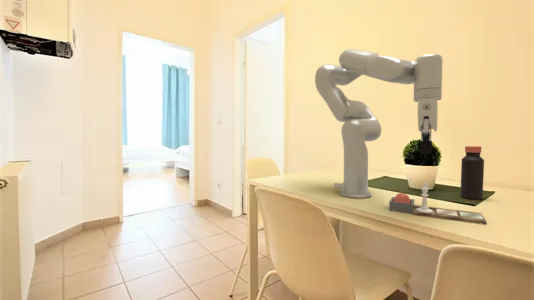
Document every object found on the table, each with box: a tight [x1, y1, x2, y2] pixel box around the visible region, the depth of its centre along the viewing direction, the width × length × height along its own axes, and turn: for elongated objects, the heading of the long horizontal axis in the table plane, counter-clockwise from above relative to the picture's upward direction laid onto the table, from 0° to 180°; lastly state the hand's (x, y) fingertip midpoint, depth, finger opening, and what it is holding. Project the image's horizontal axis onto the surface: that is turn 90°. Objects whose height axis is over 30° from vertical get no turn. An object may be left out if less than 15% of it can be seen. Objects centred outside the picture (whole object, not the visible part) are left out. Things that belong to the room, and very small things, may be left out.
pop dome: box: [394, 192, 411, 203], centre depth 88 cm, size 5×5×5 cm
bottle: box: [460, 145, 485, 201], centre depth 101 cm, size 7×7×20 cm
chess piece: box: [415, 181, 434, 214], centre depth 84 cm, size 5×5×10 cm
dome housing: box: [388, 196, 416, 215], centre depth 88 cm, size 7×7×3 cm
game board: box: [412, 204, 487, 225], centre depth 82 cm, size 18×9×1 cm, turn 58°
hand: (425, 153), depth 83 cm, fingers open, 3 cm apart
